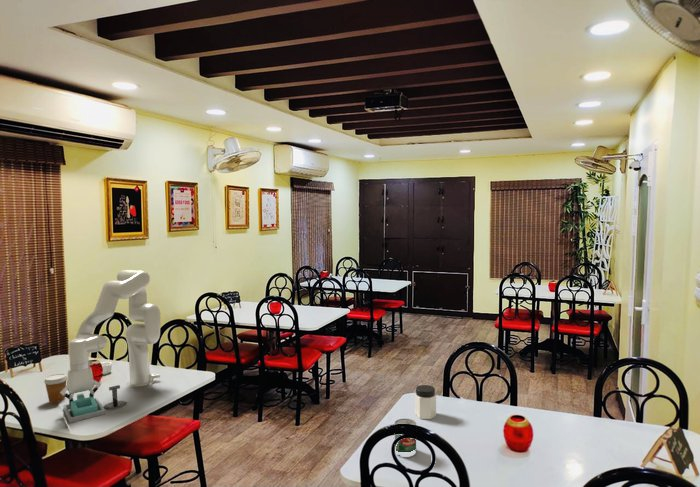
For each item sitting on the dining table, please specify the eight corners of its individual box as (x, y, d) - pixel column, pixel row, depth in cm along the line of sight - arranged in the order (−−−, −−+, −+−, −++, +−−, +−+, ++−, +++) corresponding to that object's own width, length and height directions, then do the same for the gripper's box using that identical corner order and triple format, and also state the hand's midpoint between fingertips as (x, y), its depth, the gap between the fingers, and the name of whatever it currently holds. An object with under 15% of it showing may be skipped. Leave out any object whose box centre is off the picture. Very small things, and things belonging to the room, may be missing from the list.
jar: (422, 409, 218) (422, 383, 217) (439, 414, 213) (439, 387, 212) (411, 416, 211) (411, 389, 210) (428, 421, 206) (428, 393, 205)
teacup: (104, 370, 277) (104, 361, 276) (115, 372, 274) (114, 362, 274) (89, 376, 267) (89, 366, 267) (100, 378, 265) (100, 368, 264)
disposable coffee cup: (44, 407, 227) (42, 381, 226) (46, 399, 236) (44, 375, 235) (68, 403, 231) (66, 378, 230) (69, 396, 240) (67, 372, 239)
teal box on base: (91, 399, 228) (90, 391, 227) (97, 413, 217) (97, 405, 216) (69, 404, 222) (68, 396, 221) (74, 419, 211) (74, 411, 210)
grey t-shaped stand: (124, 401, 232) (123, 380, 231) (129, 408, 224) (128, 387, 223) (101, 407, 226) (100, 386, 225) (105, 414, 218) (104, 392, 217)
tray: (97, 404, 230) (96, 397, 229) (105, 416, 216) (104, 409, 215) (63, 411, 221) (63, 405, 221) (69, 425, 208) (69, 418, 207)
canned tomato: (408, 460, 175) (407, 430, 175) (390, 452, 181) (390, 423, 180) (420, 451, 181) (420, 422, 180) (403, 444, 187) (402, 416, 186)
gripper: (99, 360, 229) (101, 397, 231) (56, 368, 219) (58, 407, 220) (102, 364, 223) (104, 402, 225) (58, 372, 213) (61, 412, 214)
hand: (81, 404), depth 222 cm, fingers open, 7 cm apart
